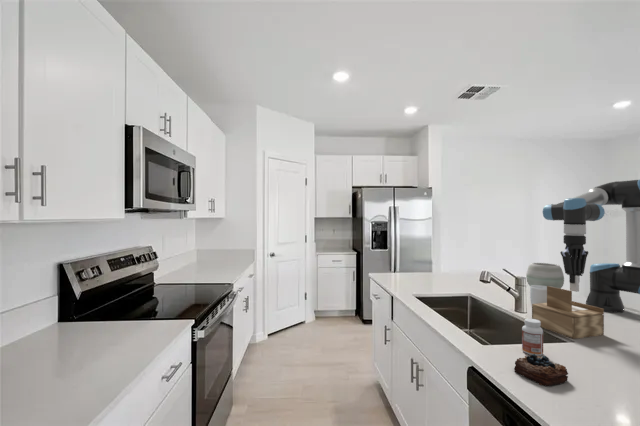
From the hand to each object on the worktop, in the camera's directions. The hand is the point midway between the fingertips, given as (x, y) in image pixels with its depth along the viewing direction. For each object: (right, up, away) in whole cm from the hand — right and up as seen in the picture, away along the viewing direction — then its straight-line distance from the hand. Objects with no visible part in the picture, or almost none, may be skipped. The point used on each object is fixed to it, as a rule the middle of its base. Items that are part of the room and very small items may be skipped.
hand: (574, 290), depth 141 cm
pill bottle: (-34, -16, -26) cm, 45 cm away
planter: (+9, -16, +32) cm, 37 cm away
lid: (-4, -7, -1) cm, 9 cm away
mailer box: (-4, -16, -1) cm, 16 cm away
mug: (+1, -16, +20) cm, 26 cm away
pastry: (-42, -16, -42) cm, 62 cm away
